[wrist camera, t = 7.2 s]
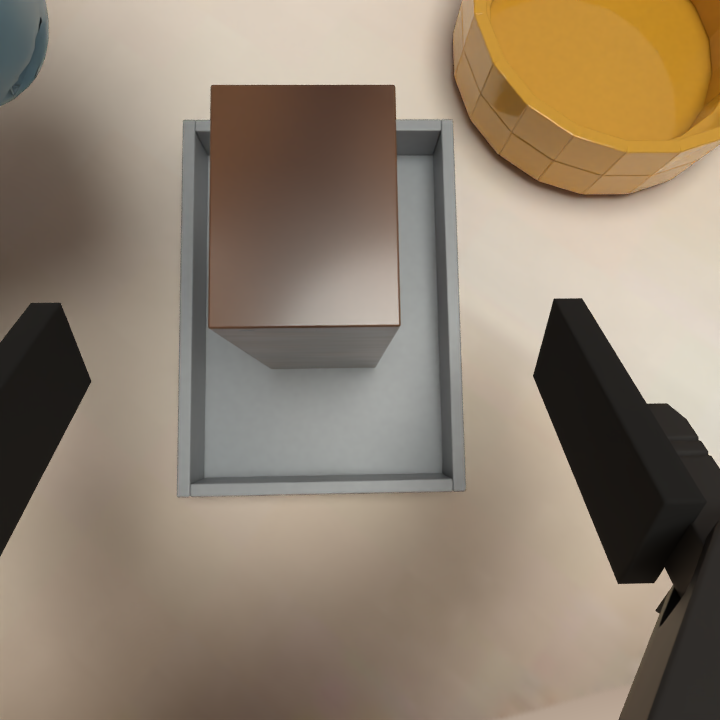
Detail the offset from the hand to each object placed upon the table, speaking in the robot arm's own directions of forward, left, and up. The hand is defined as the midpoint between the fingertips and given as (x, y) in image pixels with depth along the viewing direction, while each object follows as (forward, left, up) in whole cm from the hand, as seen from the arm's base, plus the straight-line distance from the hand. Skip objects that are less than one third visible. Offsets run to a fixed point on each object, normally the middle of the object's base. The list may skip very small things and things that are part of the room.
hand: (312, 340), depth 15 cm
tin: (0, +2, -9) cm, 9 cm away
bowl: (+12, +14, -9) cm, 21 cm away
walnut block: (0, +3, -9) cm, 9 cm away
